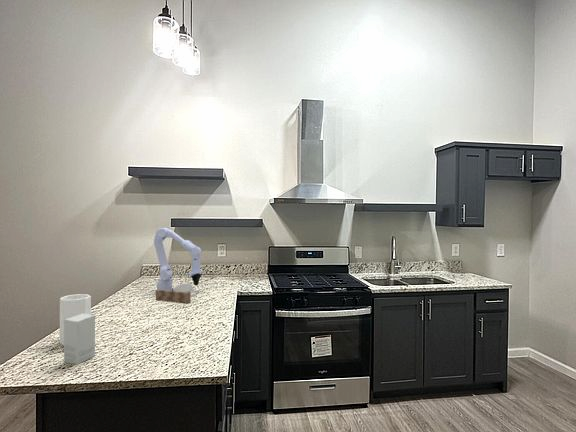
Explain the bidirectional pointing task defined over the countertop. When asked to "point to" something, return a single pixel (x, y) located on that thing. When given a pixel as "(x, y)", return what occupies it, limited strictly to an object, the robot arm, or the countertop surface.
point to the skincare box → (79, 338)
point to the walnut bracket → (173, 296)
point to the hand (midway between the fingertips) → (196, 285)
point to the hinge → (184, 289)
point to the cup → (73, 309)
